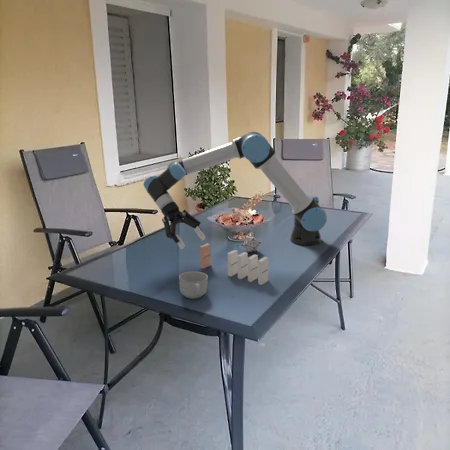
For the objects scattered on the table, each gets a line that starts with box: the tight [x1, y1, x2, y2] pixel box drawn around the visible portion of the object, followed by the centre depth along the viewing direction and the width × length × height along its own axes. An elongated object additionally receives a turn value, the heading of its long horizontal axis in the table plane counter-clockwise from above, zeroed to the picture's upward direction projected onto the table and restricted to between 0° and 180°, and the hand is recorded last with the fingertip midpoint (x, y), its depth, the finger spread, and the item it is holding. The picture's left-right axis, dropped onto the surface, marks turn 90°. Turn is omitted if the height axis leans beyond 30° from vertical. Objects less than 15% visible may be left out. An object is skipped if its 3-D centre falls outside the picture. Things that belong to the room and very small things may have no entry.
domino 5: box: [257, 256, 269, 286], centre depth 174 cm, size 2×5×10 cm, turn 143°
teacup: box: [178, 270, 209, 300], centre depth 164 cm, size 14×11×8 cm
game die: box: [240, 234, 262, 254], centre depth 207 cm, size 9×8×10 cm
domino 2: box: [227, 249, 239, 277], centre depth 183 cm, size 2×5×10 cm, turn 142°
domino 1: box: [199, 243, 212, 270], centre depth 192 cm, size 2×5×10 cm, turn 143°
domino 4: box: [247, 254, 259, 283], centre depth 177 cm, size 2×5×10 cm, turn 142°
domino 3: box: [237, 251, 249, 280], centre depth 180 cm, size 2×5×10 cm, turn 143°
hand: (194, 243), depth 193 cm, fingers open, 13 cm apart
